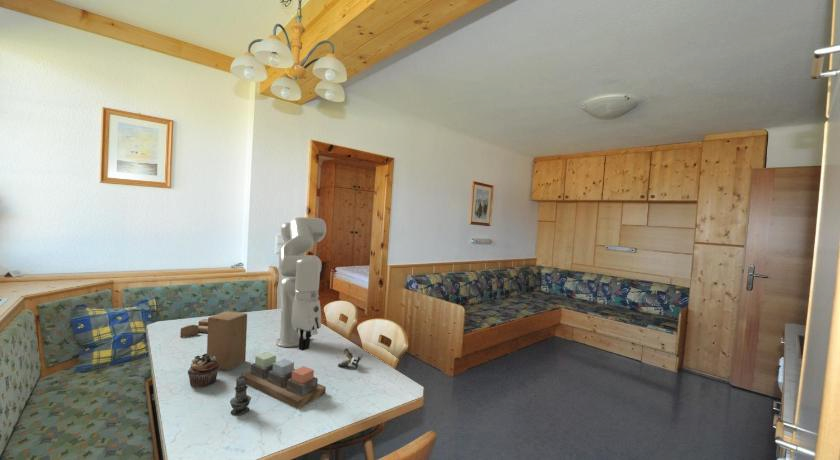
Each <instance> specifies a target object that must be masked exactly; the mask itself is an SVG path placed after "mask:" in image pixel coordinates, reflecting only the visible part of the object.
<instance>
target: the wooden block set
mask: <svg viewBox="0 0 840 460" xmlns="http://www.w3.org/2000/svg"><path fill="white" fill-rule="evenodd" d="M199 333H201V334H202V333H203V334H208V318H203V319H200V320H198V325H197V324H188V325H186V326H183V327H181V328H180V334H179V335H180V336H179V337H180V338H185V337H191V336H196V335H197V336H198V335H199Z"/></svg>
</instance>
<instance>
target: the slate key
mask: <svg viewBox="0 0 840 460" xmlns="http://www.w3.org/2000/svg"><path fill="white" fill-rule="evenodd" d="M294 369H295V361H292V360H289V359H286V358H284V359H280V360H278V361H276V362H275V363H273V373H275V374H277V375H279V376H284V375H286V374H289V373H291V372H292V371H293V370H294Z"/></svg>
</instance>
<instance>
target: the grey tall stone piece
mask: <svg viewBox="0 0 840 460" xmlns="http://www.w3.org/2000/svg"><path fill="white" fill-rule="evenodd" d="M235 383H236V384H235V387H234V391H235V394H234V395H235V396H233V397H232V398H231V399H230V400H229V404H230V406H231V408H232V410H231V411H230V415H231V416H234V417H240V416H244V415H246V414H248V413H249V412H250V409H251V408H250V407H249V405H250V402H251V400H252V397H251V395H247V389H248V388H249V387H248V386H249V385H247V384H246V383H247V377H246V376H244V375H243V373H242V372H241V373H240V375H239V376H237V377H236V382H235Z"/></svg>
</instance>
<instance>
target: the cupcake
mask: <svg viewBox="0 0 840 460" xmlns="http://www.w3.org/2000/svg"><path fill="white" fill-rule="evenodd" d="M219 370H220V369H219V365H218V362H217V360H216V357H215V356H213V355H212V356H208V354H207V352H206V353H203V354H202V355H196V356H194V357H193V358H192V359H191V364H190V367H189V369H188V370H187V375H188V379H189V386H190V387H193V388H199V389H200V388H205V387H209V386H212V385H213V384H215V383H216V382H217V381H216V380H217V377H218V374H219Z"/></svg>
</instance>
